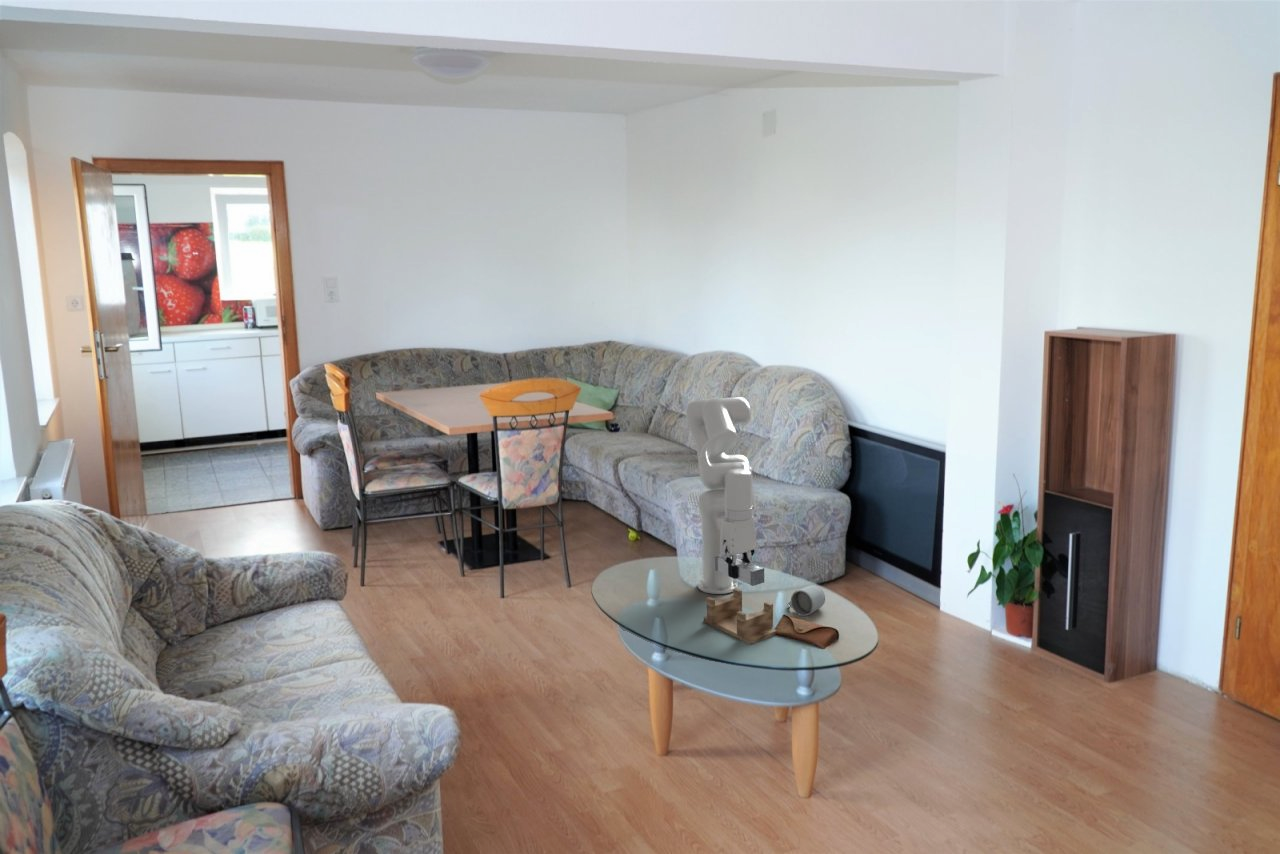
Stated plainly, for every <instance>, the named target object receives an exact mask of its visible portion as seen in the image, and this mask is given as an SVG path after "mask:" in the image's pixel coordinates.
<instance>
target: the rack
mask: <svg viewBox="0 0 1280 854" xmlns="http://www.w3.org/2000/svg"><path fill="white" fill-rule="evenodd" d="M732 593H733V595H731V596H727V597H725V598H722V599H719V600H716V599H715V598H713V597H711V596H709V597H708V596H707V597H706V598H705V599H706V602H705V603H706V616H704V617H703V623H706V624H708V625H709V626H710V625H711V626H712V627H713V628H716V629H718V630H720V631H722V632H724V633H726V634H728V635H730V636H732V637H734V636H735V637H734V638H736V637H737V639H738V638H739V639H738V640H740V639H741V640H740V641H742V640H743V641H742V642H744V641H745V642H744V643H746V642H748V643H750V644H749V645H752V644H751V643H753V644H755V642H756V643H758V642H761V641H763V640H766V639H768V638H772V637H774V636H776V635H775V634H776V632H777V630H775V628H773V627H774V604H773V603H771V602H769V601H764V602H763V609H761V610H758V611H756V612H752V613H750V614H747V613H746V612H743V590H742V589H740V588H739V587H738V588H735V589H733V592H732ZM748 643H747V644H748Z"/></svg>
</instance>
